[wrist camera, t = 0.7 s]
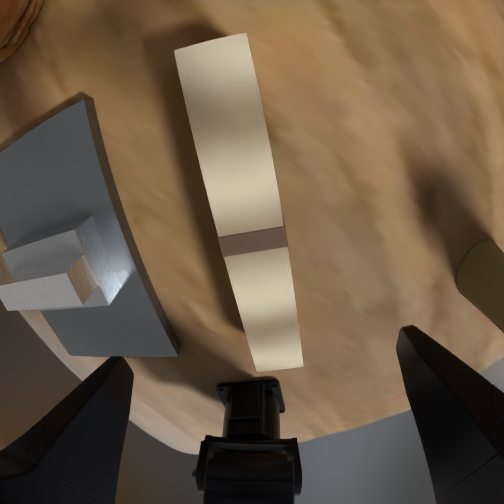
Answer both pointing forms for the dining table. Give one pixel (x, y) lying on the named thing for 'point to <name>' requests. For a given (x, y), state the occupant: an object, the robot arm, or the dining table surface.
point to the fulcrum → (76, 243)
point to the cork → (484, 280)
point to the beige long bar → (243, 193)
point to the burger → (15, 23)
